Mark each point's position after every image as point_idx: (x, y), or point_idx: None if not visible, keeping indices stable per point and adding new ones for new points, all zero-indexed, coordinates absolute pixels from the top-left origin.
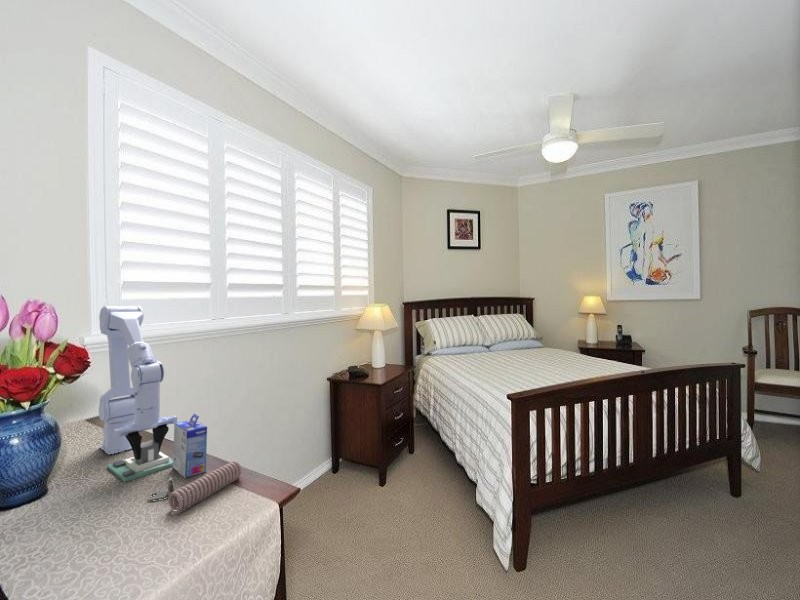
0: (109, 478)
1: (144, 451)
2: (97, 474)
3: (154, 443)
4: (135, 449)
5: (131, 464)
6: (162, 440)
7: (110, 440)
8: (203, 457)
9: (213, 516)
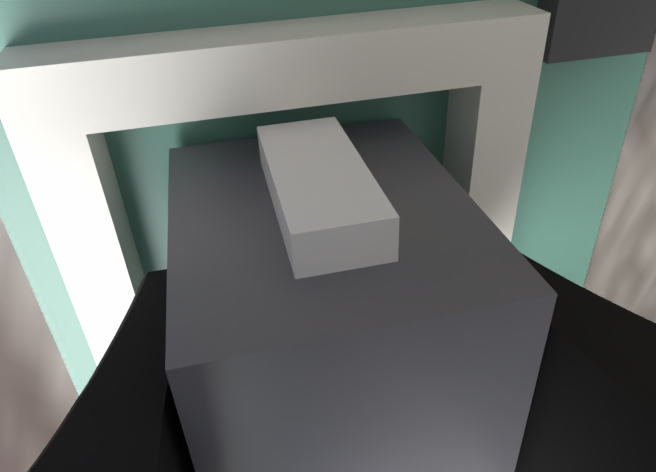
0: (652, 136)
1: (459, 242)
2: (635, 299)
3: (255, 406)
4: (629, 317)
5: (515, 190)
6: (45, 463)
7: None
8: None
9: None
